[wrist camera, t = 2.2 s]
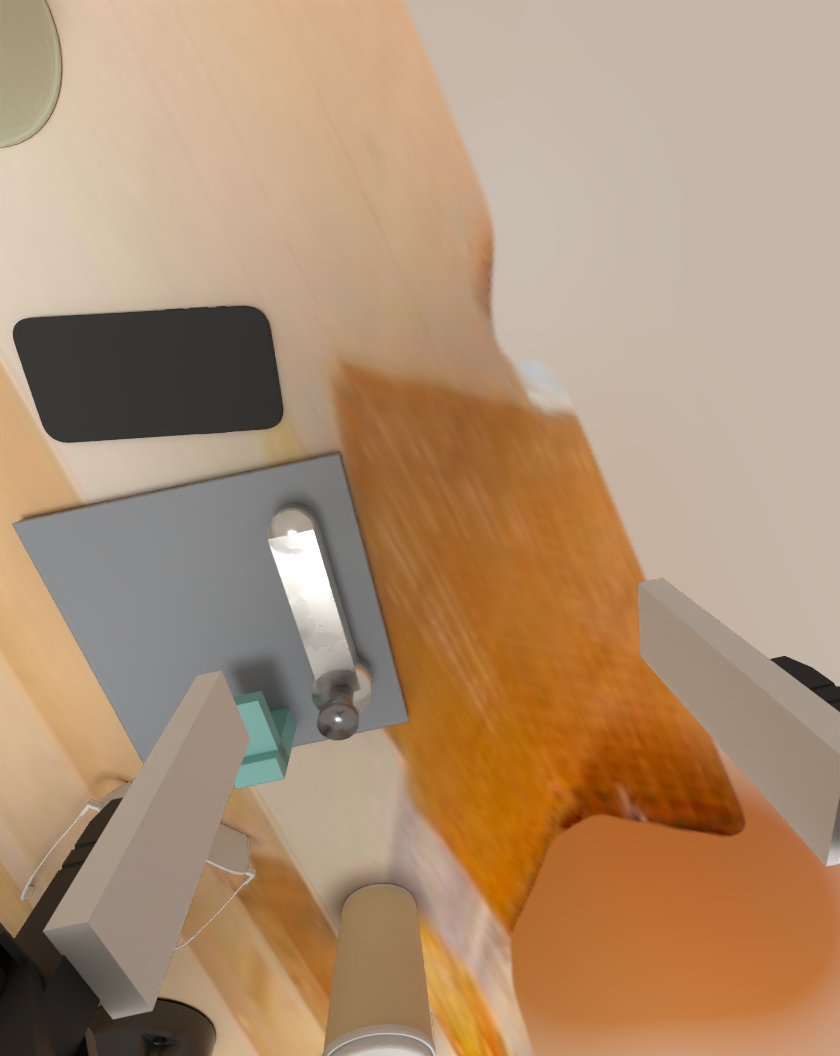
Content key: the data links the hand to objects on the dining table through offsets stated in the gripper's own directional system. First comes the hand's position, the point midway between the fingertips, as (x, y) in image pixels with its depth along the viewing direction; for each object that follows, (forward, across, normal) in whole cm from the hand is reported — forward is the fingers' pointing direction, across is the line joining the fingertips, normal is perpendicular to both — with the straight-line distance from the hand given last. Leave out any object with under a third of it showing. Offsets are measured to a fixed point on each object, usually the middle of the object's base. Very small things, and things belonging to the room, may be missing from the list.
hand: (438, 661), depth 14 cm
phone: (+20, -14, +11) cm, 27 cm away
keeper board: (+19, -15, -8) cm, 25 cm away
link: (+18, -8, -7) cm, 21 cm away
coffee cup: (+19, -12, -43) cm, 49 cm away
